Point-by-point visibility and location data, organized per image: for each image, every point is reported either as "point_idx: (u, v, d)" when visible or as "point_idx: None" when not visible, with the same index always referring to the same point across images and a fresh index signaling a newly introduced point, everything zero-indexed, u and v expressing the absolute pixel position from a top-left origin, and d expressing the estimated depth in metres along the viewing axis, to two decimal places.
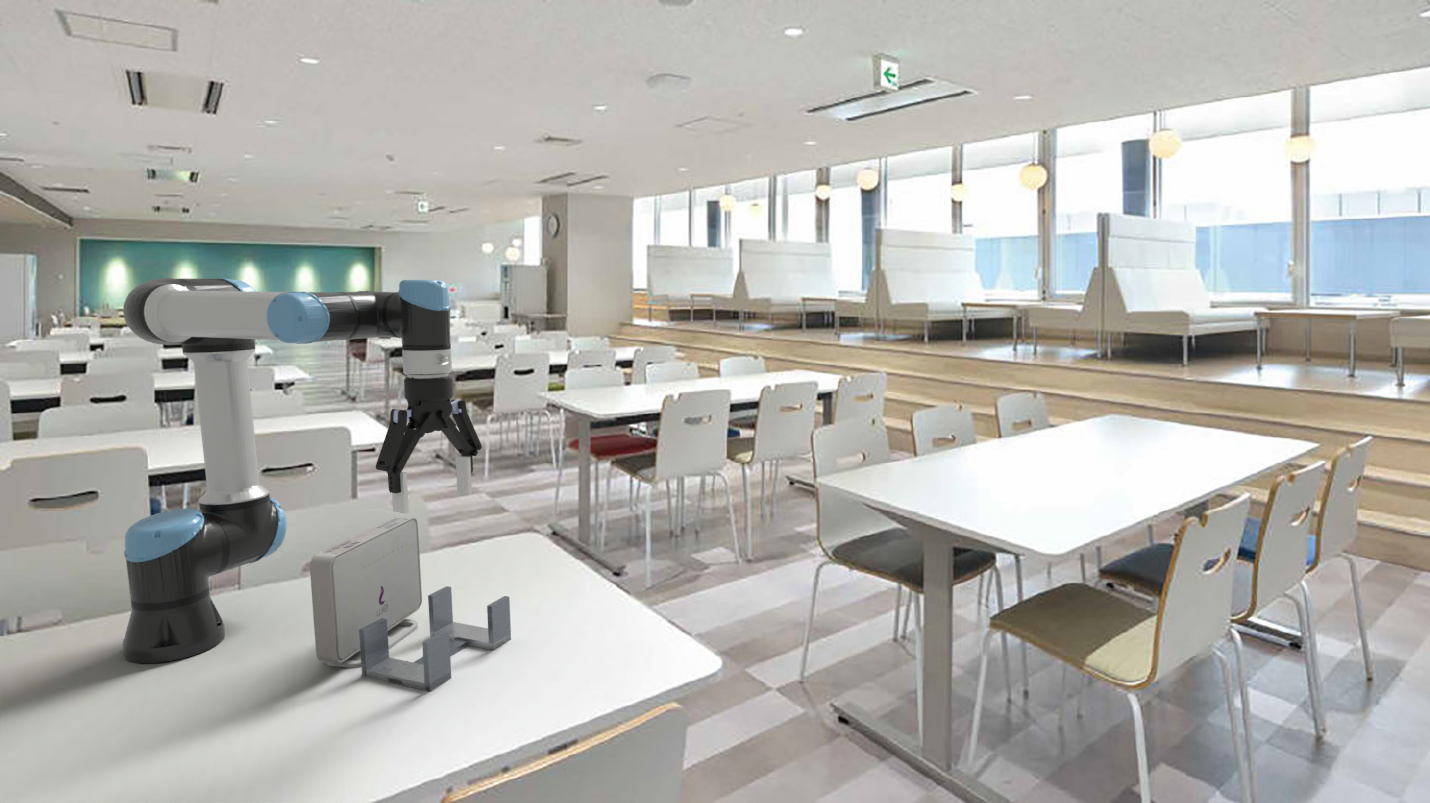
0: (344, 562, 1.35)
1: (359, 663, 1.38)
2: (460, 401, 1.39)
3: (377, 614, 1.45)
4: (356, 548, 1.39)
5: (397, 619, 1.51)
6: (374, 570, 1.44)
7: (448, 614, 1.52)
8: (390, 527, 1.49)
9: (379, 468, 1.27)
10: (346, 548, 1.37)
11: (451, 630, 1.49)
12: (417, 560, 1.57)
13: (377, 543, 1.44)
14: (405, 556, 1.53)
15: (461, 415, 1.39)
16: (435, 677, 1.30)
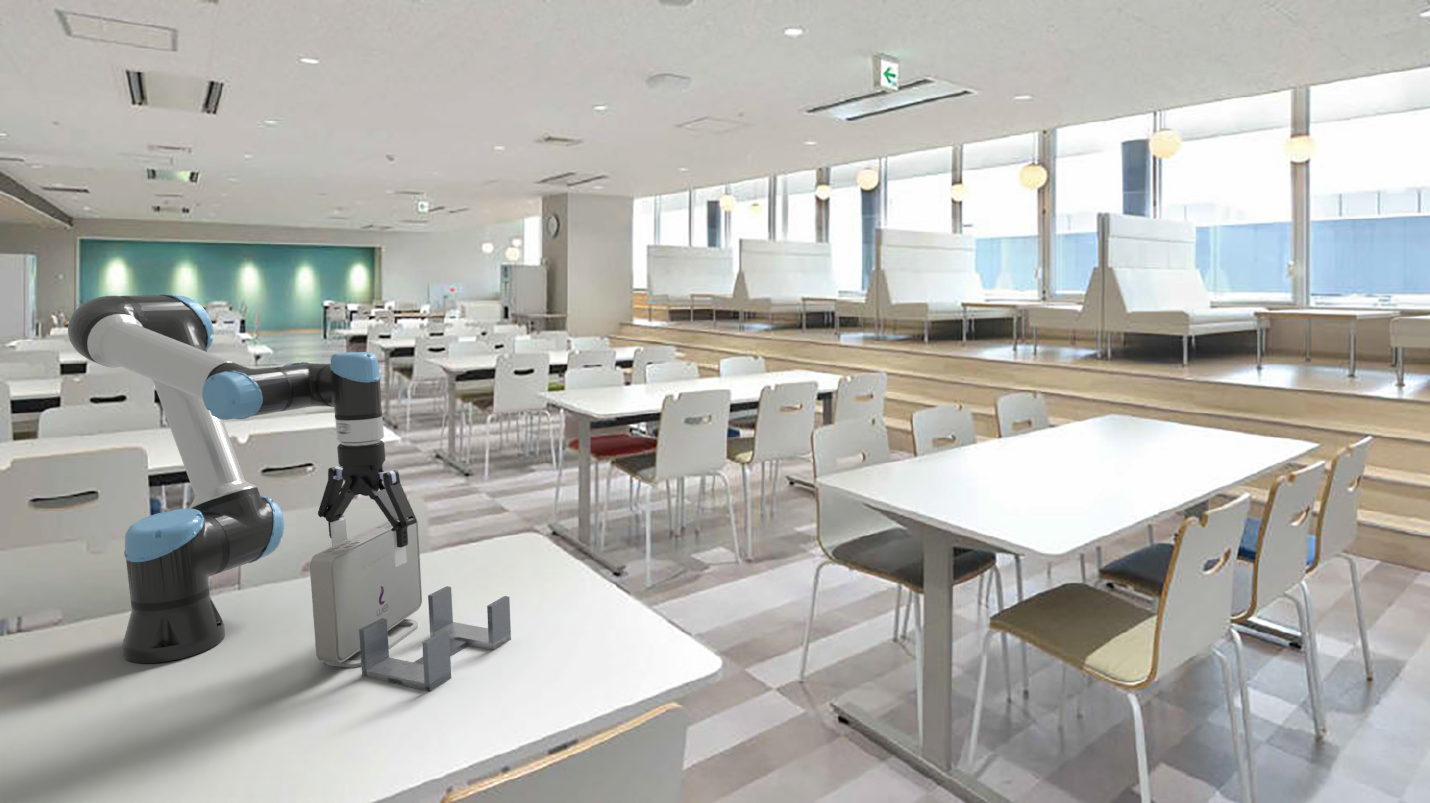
0: (344, 562, 1.35)
1: (359, 663, 1.38)
2: (385, 473, 1.40)
3: (377, 614, 1.45)
4: (356, 548, 1.39)
5: (397, 619, 1.51)
6: (374, 570, 1.44)
7: (448, 614, 1.52)
8: (390, 527, 1.49)
9: None
10: (346, 547, 1.37)
11: (451, 630, 1.49)
12: (417, 560, 1.57)
13: (377, 543, 1.44)
14: None
15: None
16: (435, 677, 1.30)
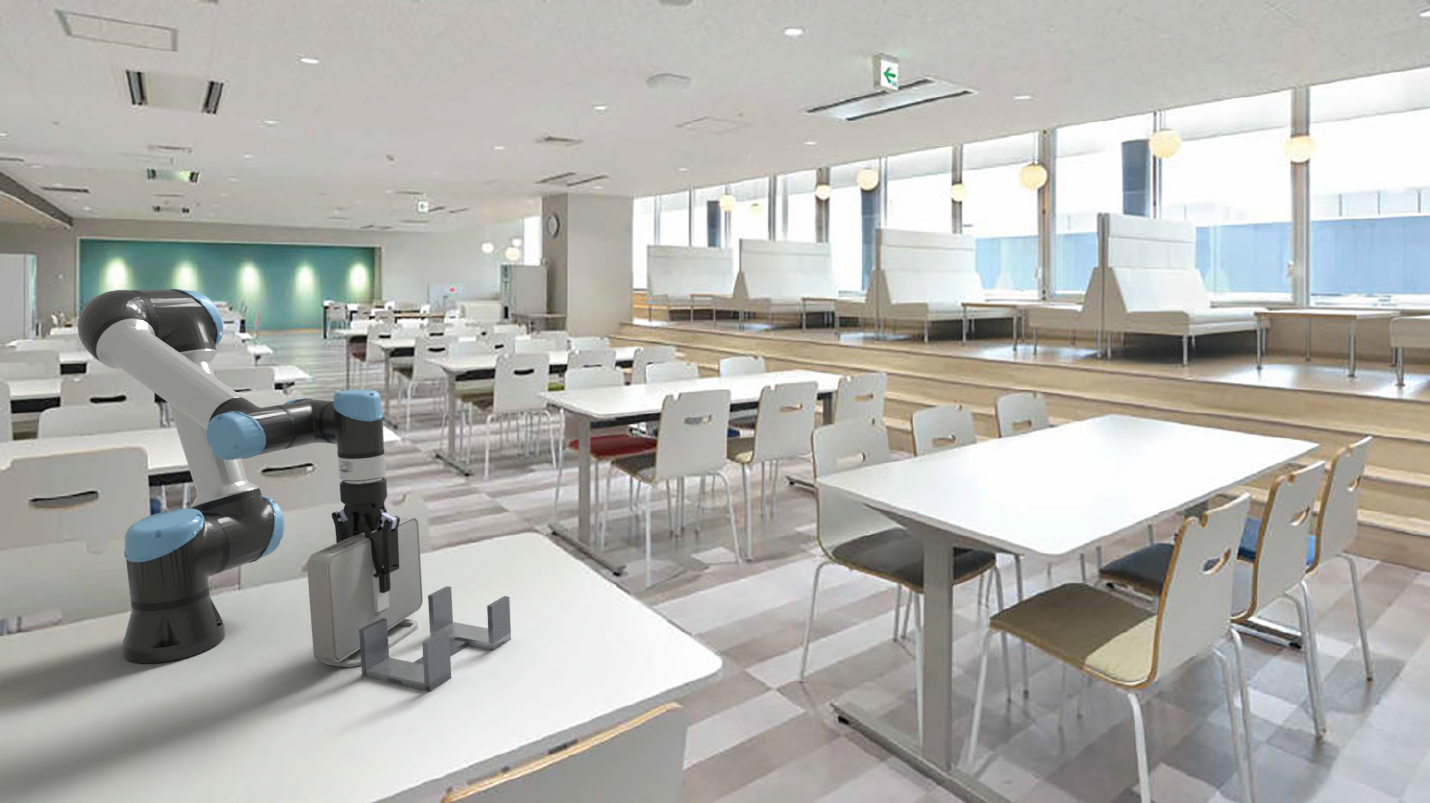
0: (341, 561, 1.35)
1: (356, 663, 1.38)
2: (387, 519, 1.41)
3: (376, 614, 1.45)
4: (354, 548, 1.39)
5: (397, 619, 1.51)
6: (373, 569, 1.44)
7: (448, 614, 1.52)
8: None
9: None
10: (343, 547, 1.37)
11: (451, 630, 1.49)
12: (417, 560, 1.57)
13: None
14: (405, 556, 1.53)
15: None
16: (435, 677, 1.30)
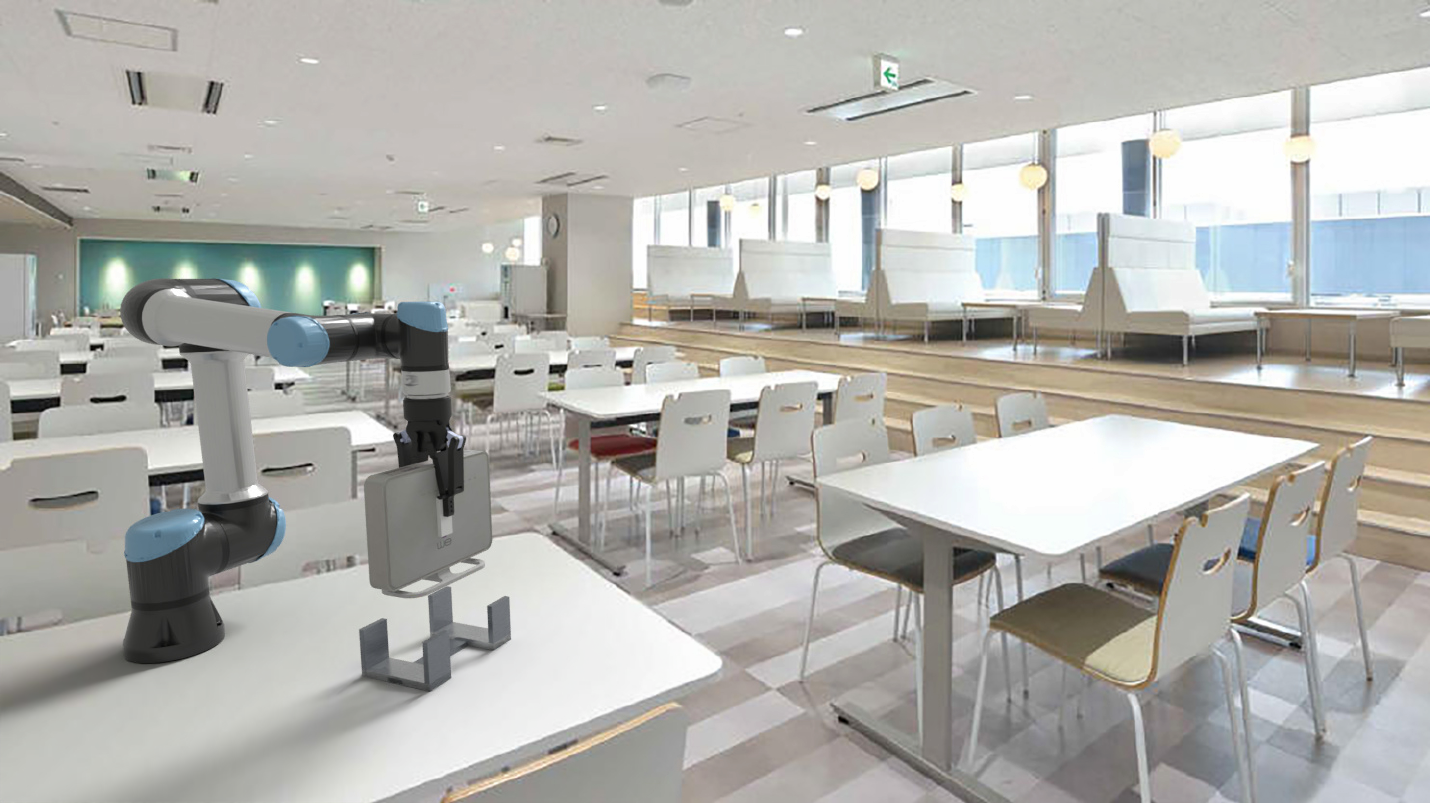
0: (399, 485, 1.28)
1: (413, 595, 1.30)
2: (454, 437, 1.33)
3: (438, 547, 1.37)
4: (414, 473, 1.31)
5: (462, 556, 1.42)
6: None
7: (448, 614, 1.52)
8: None
9: None
10: (403, 471, 1.30)
11: (451, 630, 1.49)
12: (487, 497, 1.48)
13: None
14: (473, 490, 1.44)
15: (449, 449, 1.34)
16: (435, 677, 1.30)
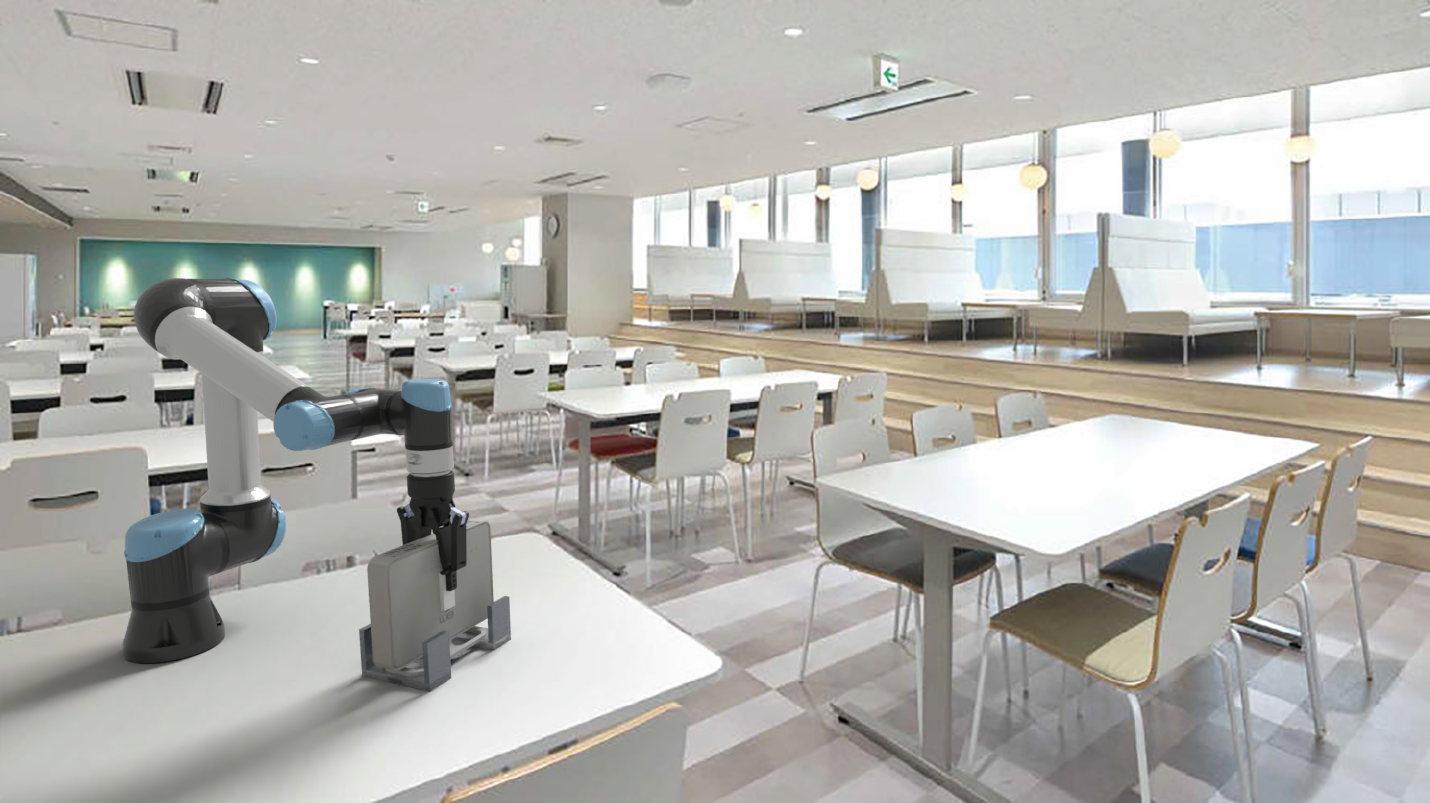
0: (402, 566, 1.29)
1: (416, 672, 1.32)
2: (457, 514, 1.35)
3: (440, 621, 1.38)
4: (417, 552, 1.33)
5: (464, 627, 1.44)
6: (438, 575, 1.37)
7: None
8: None
9: None
10: (406, 551, 1.31)
11: None
12: (489, 566, 1.50)
13: None
14: (475, 561, 1.46)
15: (452, 525, 1.36)
16: (435, 677, 1.30)
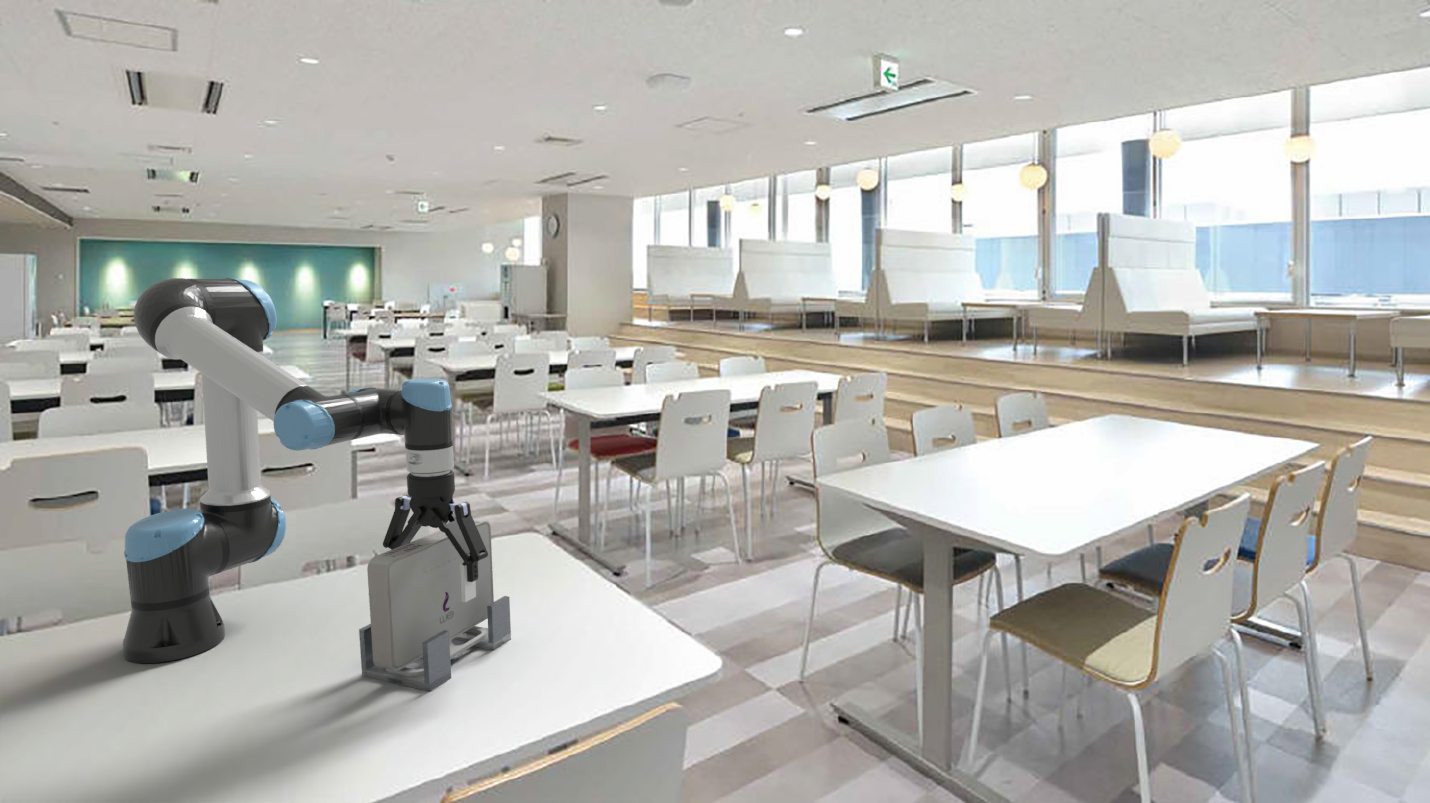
0: (402, 566, 1.29)
1: (416, 672, 1.32)
2: (456, 505, 1.35)
3: (440, 621, 1.38)
4: (417, 552, 1.33)
5: (464, 627, 1.44)
6: (438, 575, 1.37)
7: None
8: None
9: None
10: (406, 551, 1.31)
11: None
12: (489, 566, 1.50)
13: (442, 546, 1.38)
14: None
15: (457, 519, 1.35)
16: (435, 677, 1.30)
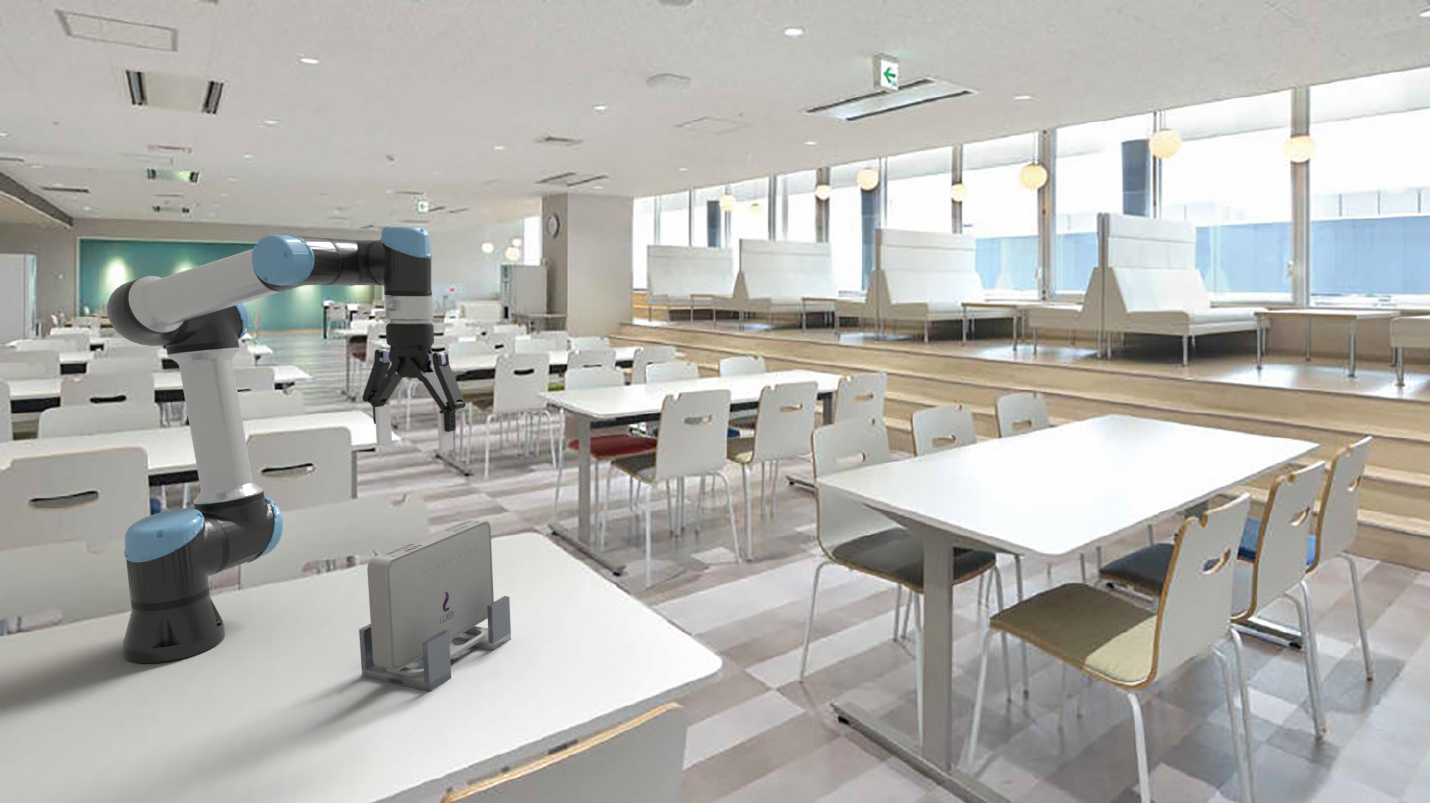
0: (402, 566, 1.29)
1: (416, 672, 1.32)
2: None
3: (440, 621, 1.38)
4: (417, 552, 1.33)
5: (464, 627, 1.44)
6: (438, 575, 1.37)
7: None
8: (458, 530, 1.42)
9: None
10: (406, 551, 1.31)
11: None
12: (489, 566, 1.50)
13: (442, 546, 1.38)
14: (475, 561, 1.46)
15: (435, 367, 1.35)
16: (435, 677, 1.30)
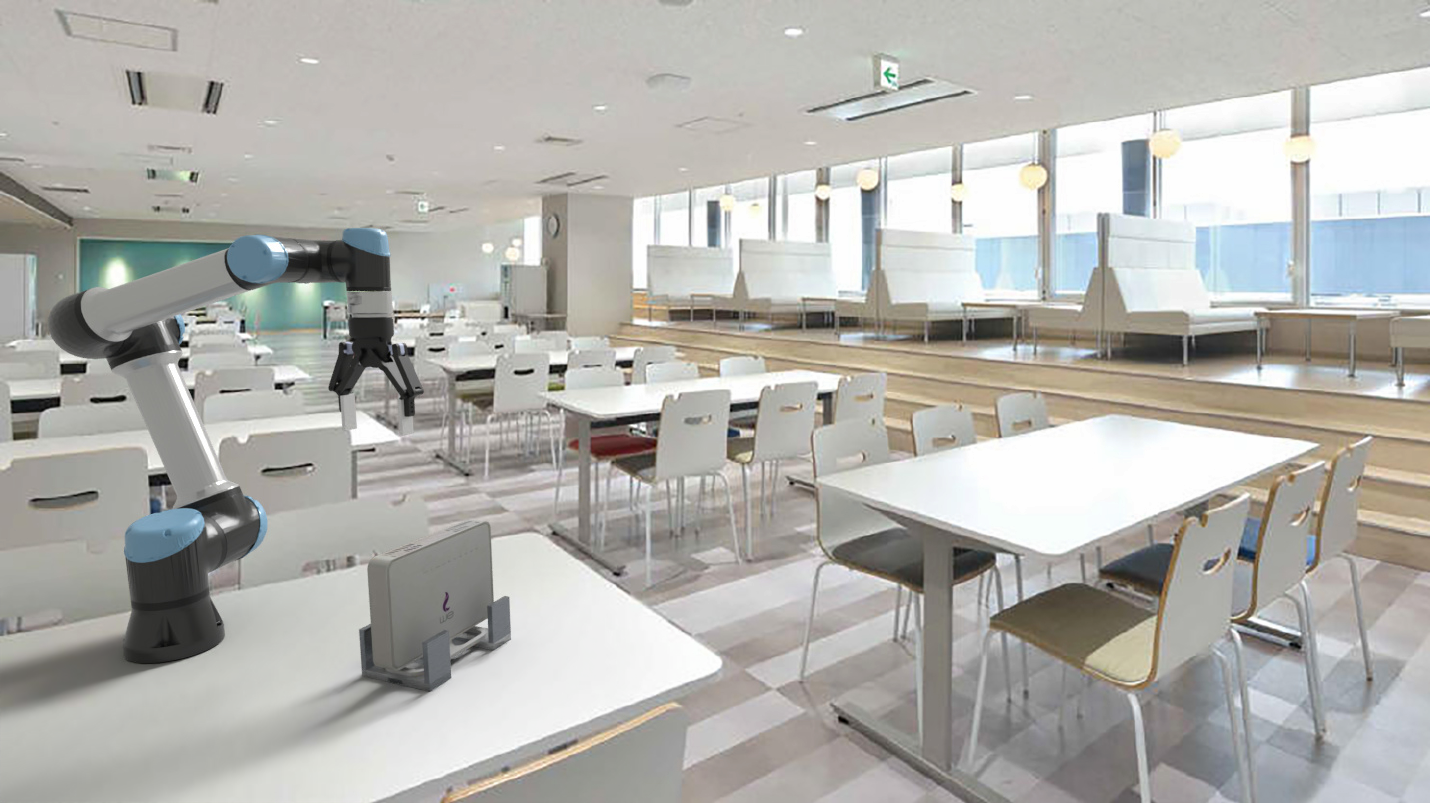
0: (402, 566, 1.29)
1: (416, 672, 1.32)
2: None
3: (440, 621, 1.38)
4: (417, 552, 1.33)
5: (464, 627, 1.44)
6: (438, 575, 1.37)
7: None
8: (458, 530, 1.42)
9: None
10: (406, 551, 1.31)
11: None
12: (489, 566, 1.50)
13: (442, 546, 1.38)
14: (475, 561, 1.46)
15: (394, 357, 1.46)
16: (435, 677, 1.30)
